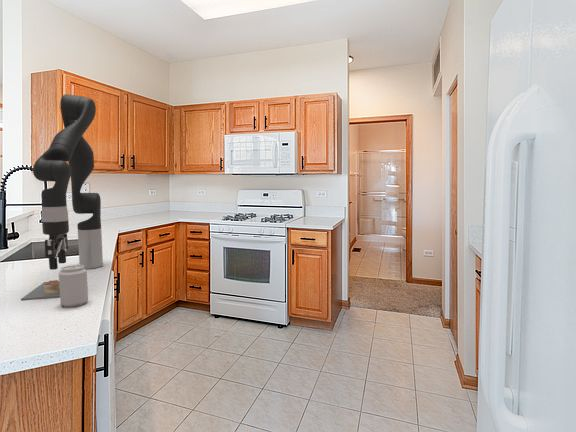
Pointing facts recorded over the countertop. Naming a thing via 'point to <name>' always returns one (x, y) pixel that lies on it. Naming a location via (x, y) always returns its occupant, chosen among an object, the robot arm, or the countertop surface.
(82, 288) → the can
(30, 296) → the mat
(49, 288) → the beige rectangular block
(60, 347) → the countertop surface
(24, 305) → the countertop surface
